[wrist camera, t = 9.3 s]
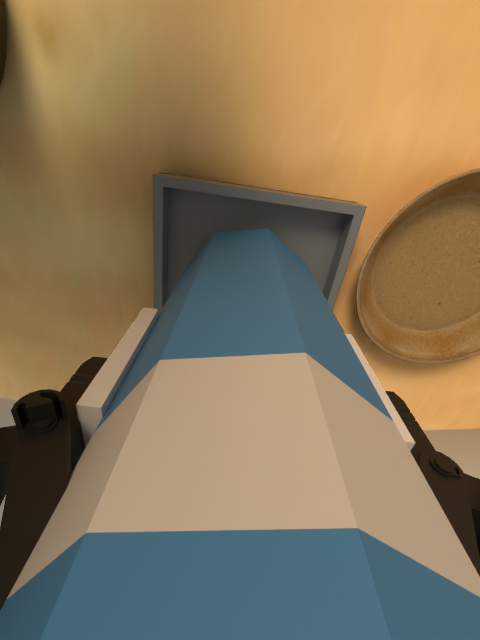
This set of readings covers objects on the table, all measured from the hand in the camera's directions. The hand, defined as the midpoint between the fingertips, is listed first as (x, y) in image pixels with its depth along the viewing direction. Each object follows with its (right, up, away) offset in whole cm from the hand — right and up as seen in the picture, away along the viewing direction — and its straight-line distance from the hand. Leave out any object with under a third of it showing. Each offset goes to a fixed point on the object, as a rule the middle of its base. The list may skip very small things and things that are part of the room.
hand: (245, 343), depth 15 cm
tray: (0, +5, +8) cm, 9 cm away
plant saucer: (+16, +5, +8) cm, 18 cm away
